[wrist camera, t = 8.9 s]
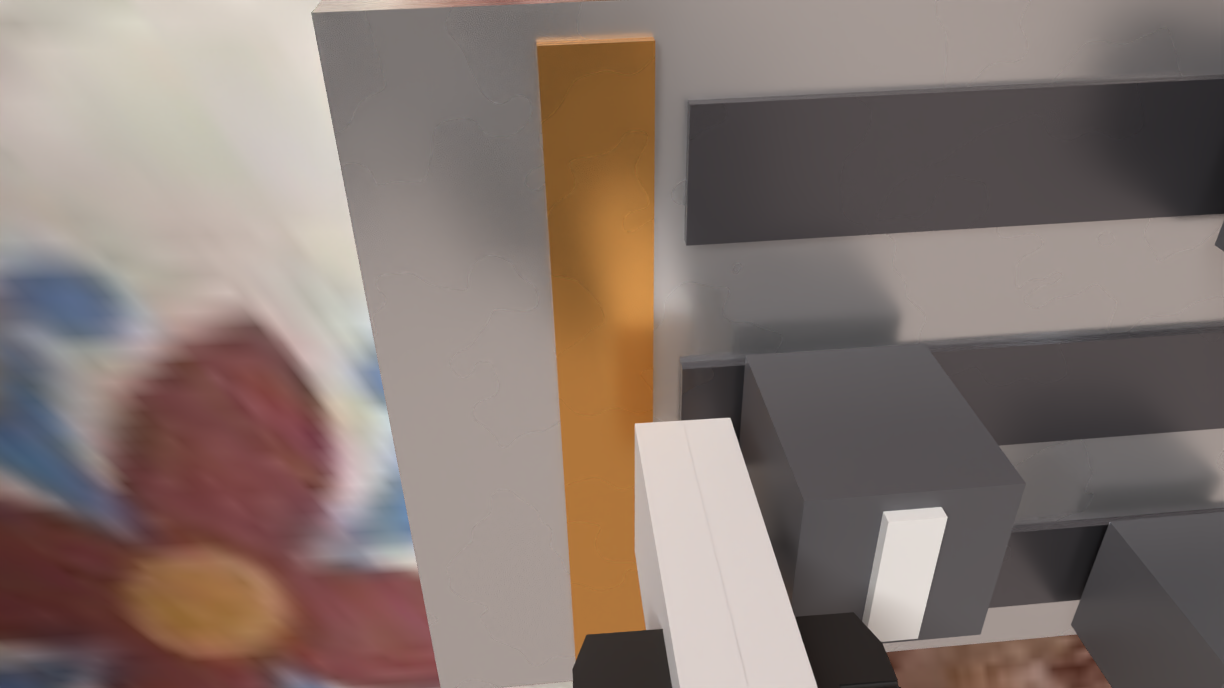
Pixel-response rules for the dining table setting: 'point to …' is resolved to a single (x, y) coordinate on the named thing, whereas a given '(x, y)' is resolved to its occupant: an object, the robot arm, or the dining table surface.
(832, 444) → the breaker
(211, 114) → the dining table surface
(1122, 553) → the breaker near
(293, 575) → the dining table surface
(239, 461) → the dining table surface
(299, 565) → the dining table surface
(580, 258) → the panel
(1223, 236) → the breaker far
